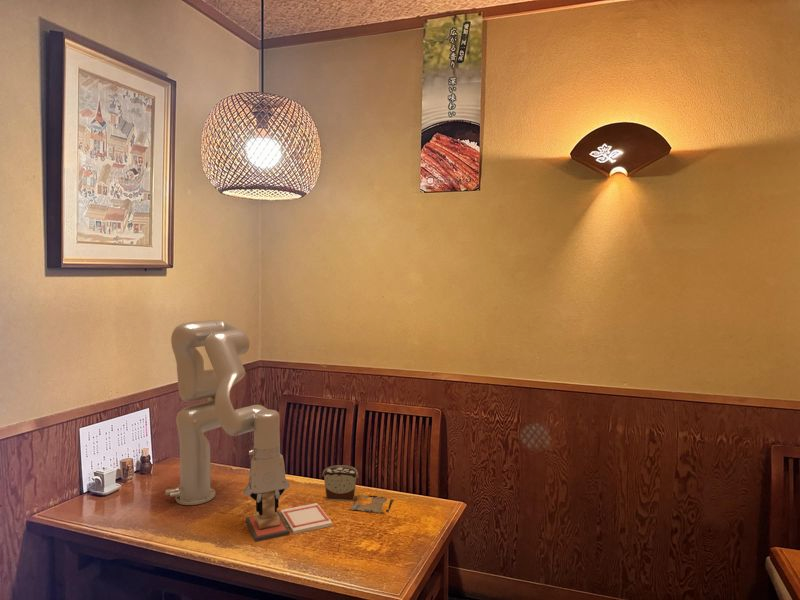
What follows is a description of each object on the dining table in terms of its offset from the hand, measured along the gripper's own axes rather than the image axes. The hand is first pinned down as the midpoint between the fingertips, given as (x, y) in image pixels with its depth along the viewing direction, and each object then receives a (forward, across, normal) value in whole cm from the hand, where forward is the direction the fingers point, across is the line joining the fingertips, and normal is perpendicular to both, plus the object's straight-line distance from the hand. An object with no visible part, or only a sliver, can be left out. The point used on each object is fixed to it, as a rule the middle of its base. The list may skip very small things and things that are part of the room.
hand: (267, 511), depth 162 cm
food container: (+5, +28, +11) cm, 30 cm away
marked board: (+5, +12, 0) cm, 13 cm away
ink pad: (+5, 0, 0) cm, 5 cm away
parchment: (+6, +35, +1) cm, 35 cm away
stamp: (+4, 0, 0) cm, 4 cm away
